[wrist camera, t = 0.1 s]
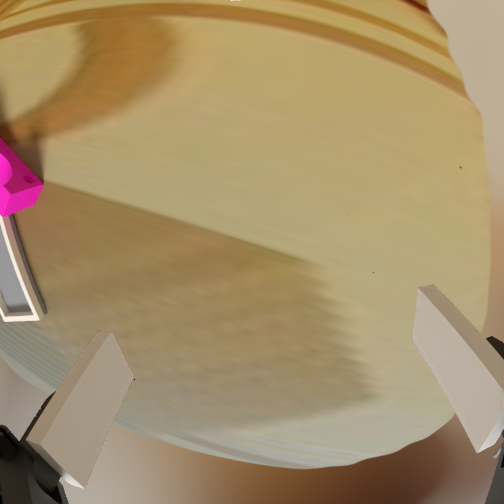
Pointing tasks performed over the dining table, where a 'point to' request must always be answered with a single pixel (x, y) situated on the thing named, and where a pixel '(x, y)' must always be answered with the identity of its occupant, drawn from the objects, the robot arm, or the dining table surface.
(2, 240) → the tray
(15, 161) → the toy block
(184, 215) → the dining table surface
